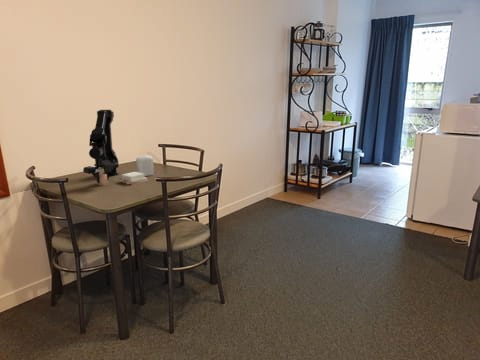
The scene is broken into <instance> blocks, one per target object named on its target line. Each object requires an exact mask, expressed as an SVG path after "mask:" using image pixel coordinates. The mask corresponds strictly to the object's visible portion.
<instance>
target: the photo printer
mask: <svg viewBox="0 0 480 360" xmlns="http://www.w3.org/2000/svg"><path fill="white" fill-rule="evenodd" d="M135 160H136V161H135V162H136V172H139V173H143V174H144V176H145V177H146V176H147V177H148V176H154V175H155V174H154V173H155V172H154V171H155V170H154V169H155V168H154V157H153V156H152V155H140V156H138V157H136V159H135Z"/></svg>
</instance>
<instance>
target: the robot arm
mask: <svg viewBox="0 0 480 360" xmlns="http://www.w3.org/2000/svg"><path fill="white" fill-rule="evenodd" d="M114 117H115V116H114V110H113V111H112V109H99V110H96V122H95V127H94V128H93V130H91V134H90V135H89V144H88V145H89V147H92V148H90V150H89V151H88V155H89V157H90V158H91V159H94V164H93V165H94V166H91V165H89V166H84V167H83V169H82V170H83V171H82V172H83V173H86V174H88V175H89V174H91V175H92V176H93V178H94V179H95V181H96V182H97V184H98V183H100V180H99V173H101V172H100V171H99V170H102V169H103V173H107V180H108V181H109V179H110V177H112V176H117V175H120V174H119V172H117V168H119V165H120V163H119V158H118V157H117V155H116V152H115V150H114V149H113V142H112V141H113V140H112V122H113V121H114Z"/></svg>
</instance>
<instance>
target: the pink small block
mask: <svg viewBox="0 0 480 360" xmlns="http://www.w3.org/2000/svg"><path fill="white" fill-rule="evenodd" d="M99 180H100V183H97V184H98V186H100V187H102V186H103V187H104V186H107V185H109V179H108V180H107V173H104V172H100V173H99Z"/></svg>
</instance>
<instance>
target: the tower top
mask: <svg viewBox="0 0 480 360" xmlns="http://www.w3.org/2000/svg"><path fill="white" fill-rule="evenodd" d="M145 177H146V176H144V174H143V173H139V172H137V171H133V172H127V173H124V174H123V173H122V174H121V178H122V179H125V180H129V181H135V180H139V179H143V178H145Z"/></svg>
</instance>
